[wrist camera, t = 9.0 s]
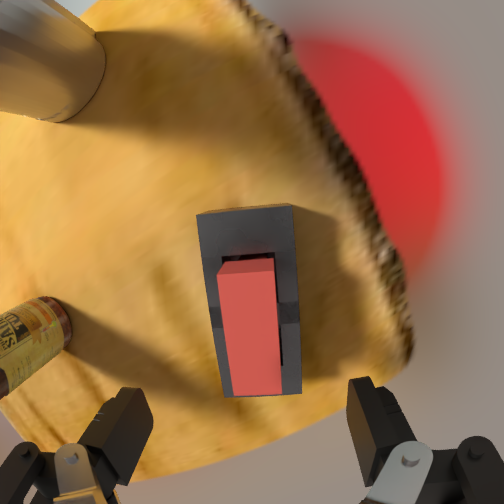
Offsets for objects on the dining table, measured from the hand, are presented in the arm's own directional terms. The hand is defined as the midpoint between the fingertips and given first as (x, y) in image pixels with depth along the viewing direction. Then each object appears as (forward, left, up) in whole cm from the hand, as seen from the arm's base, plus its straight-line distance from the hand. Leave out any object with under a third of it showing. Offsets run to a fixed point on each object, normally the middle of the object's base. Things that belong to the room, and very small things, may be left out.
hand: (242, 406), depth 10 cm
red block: (0, 0, -13) cm, 13 cm away
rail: (0, 0, -14) cm, 14 cm away
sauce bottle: (+2, -22, -14) cm, 26 cm away
